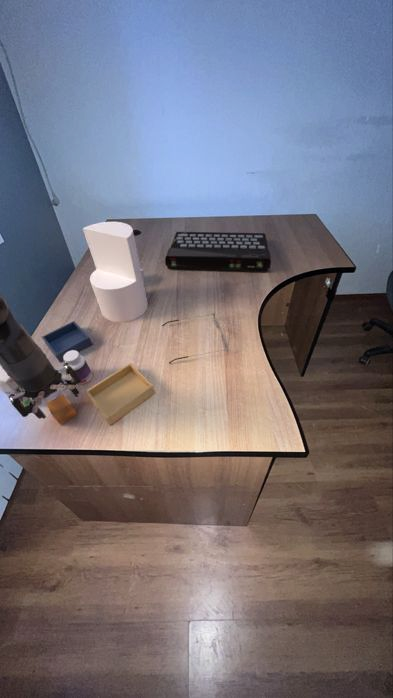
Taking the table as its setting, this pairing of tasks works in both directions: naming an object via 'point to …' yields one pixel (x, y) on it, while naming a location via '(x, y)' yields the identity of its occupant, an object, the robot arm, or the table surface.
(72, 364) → the pill bottle
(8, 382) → the ink box
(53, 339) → the slate bin
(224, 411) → the table surface
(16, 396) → the robot arm
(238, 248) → the computer keyboard
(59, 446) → the table surface
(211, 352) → the eyeglasses
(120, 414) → the sand bin
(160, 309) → the table surface
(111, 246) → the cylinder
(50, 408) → the ochre block
